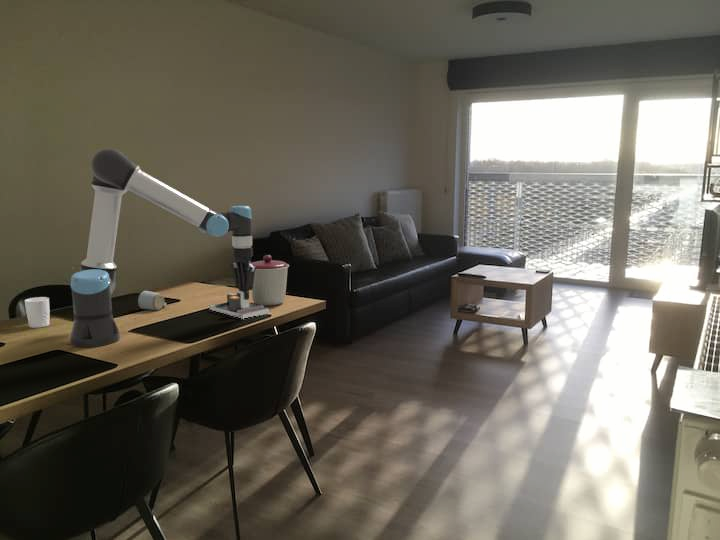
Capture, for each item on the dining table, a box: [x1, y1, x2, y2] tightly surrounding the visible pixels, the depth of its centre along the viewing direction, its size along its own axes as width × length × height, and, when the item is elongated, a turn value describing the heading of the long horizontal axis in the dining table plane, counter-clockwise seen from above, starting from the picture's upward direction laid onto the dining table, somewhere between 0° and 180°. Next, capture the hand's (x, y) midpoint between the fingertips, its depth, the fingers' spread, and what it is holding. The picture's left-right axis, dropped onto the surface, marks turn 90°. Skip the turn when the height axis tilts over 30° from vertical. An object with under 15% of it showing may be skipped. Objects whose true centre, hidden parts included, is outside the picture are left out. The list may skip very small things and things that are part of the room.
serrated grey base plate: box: [209, 291, 270, 320], centre depth 229 cm, size 13×22×7 cm, turn 48°
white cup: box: [24, 296, 51, 329], centre depth 211 cm, size 8×8×10 cm
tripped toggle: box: [229, 296, 241, 311], centre depth 223 cm, size 3×4×5 cm, turn 48°
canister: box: [250, 254, 290, 307], centre depth 243 cm, size 18×18×21 cm
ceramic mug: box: [137, 290, 167, 311], centre depth 236 cm, size 11×8×8 cm
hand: (245, 307), depth 219 cm, fingers closed
